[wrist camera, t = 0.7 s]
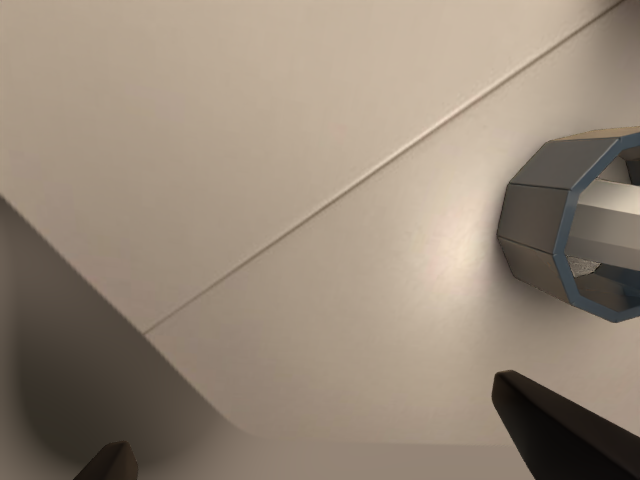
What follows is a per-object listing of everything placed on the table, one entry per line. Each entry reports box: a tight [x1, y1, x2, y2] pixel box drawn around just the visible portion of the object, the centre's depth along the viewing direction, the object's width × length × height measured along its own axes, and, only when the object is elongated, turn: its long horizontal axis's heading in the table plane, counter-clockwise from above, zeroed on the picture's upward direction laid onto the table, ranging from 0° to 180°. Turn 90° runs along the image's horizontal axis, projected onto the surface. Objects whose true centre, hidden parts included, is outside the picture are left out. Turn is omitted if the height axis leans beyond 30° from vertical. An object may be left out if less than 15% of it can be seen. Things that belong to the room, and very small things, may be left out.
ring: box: [497, 126, 640, 323], centre depth 20 cm, size 10×11×4 cm
